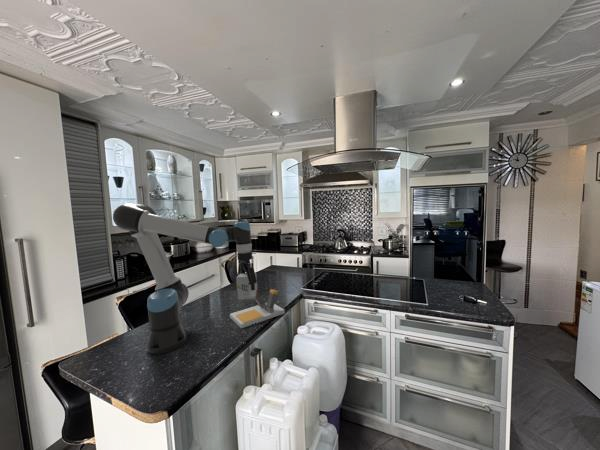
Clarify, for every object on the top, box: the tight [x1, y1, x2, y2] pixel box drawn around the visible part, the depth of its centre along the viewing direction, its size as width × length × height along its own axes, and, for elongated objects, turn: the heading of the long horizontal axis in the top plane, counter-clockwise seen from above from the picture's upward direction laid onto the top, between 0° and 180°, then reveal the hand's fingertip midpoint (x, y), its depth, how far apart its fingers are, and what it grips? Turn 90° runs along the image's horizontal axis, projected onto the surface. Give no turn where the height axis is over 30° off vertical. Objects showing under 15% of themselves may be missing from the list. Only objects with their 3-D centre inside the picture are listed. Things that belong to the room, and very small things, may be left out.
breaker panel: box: [229, 302, 286, 329], centre depth 133 cm, size 25×16×4 cm, turn 125°
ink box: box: [235, 271, 259, 300], centre depth 127 cm, size 9×9×12 cm
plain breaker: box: [253, 293, 265, 306], centre depth 139 cm, size 3×4×11 cm
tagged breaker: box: [266, 288, 278, 310], centre depth 134 cm, size 3×4×11 cm, turn 35°
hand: (247, 293), depth 127 cm, fingers closed on ink box, 11 cm apart
